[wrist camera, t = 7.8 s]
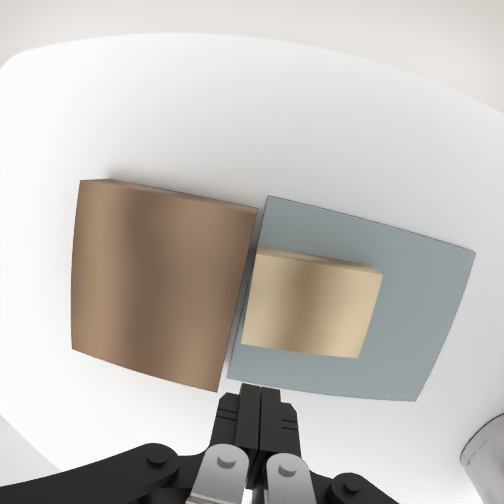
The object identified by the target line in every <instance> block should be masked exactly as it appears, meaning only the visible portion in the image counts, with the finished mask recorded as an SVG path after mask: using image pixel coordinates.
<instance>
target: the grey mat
mask: <svg viewBox="0 0 504 504" xmlns="http://www.w3.org/2000/svg"><path fill="white" fill-rule="evenodd" d="M257 245H258V246H264V247H270V248H276V249H282V250H288V251H293V252H299V253H305V254H311V255H317V256H323V257H328V258H334V259H340V260H346V261H352V262H357V263H363V264H369V265H372V266H373V267H374V268H375V269H377V270H378V271H379V272H380V273H381V274H383V277H382V281H381V285H380V289H379V292H378V296H377V299H376V303H375V306H374V310H373V313H372V317H371V320H370V323H369V326H368V330H367V333H366V336H365V339H364V342H363V345H362V348H361V351H360V354H359V357H358V358H347V357H337V356H327V355H318V354H310V353H301V352H294V351H286V350H279V349H272V348H265V347H258V346H252V345H246V344H241V339H242V331H243V325H244V319H245V313H246V308H247V302H248V296H249V290H250V284H251V279H252V273H253V267H254V261H255V256H254V261H253V265H252V270H251V274H250V278H249V283H248V287H247V292H246V296H245V300H244V305H243V309H242V314H241V318H240V322H239V327H238V331H237V335H236V340H235V344H234V349H233V353H232V357H231V362H230V366H229V370H228V375H227V378H229V379H234V380H239V381H244V382H249V383H254V384H259V385H265V386H271V387H277V388H283V389H289V390H295V391H302V392H309V393H317V394H325V395H333V396H343V397H353V398H364V399H377V400H392V401H415V402H416V400H417V398H418V396H419V394H420V392H421V390H422V388H423V386H424V384H425V382H426V381H427V379H428V377H429V374H430V372H431V370H432V368H433V366H434V364H435V362H436V360H437V358H438V355H439V353H440V351H441V349H442V347H443V344H444V342H445V340H446V337H447V335H448V332H449V330H450V328H451V325H452V323H453V320H454V317H455V315H456V312H457V310H458V307H459V304H460V301H461V299H462V296H463V293H464V290H465V287H466V284H467V281H468V278H469V275H470V272H471V268H472V265H473V262H474V258H475V255H476V253H475V252H473V251H470V250H467V249H464V248H461V247H457V246H454V245H451V244H448V243H445V242H441V241H438V240H435V239H432V238H428V237H425V236H422V235H418V234H415V233H412V232H408V231H405V230H401V229H398V228H394V227H391V226H387V225H384V224H380V223H376V222H373V221H369V220H365V219H362V218H358V217H354V216H350V215H347V214H343V213H339V212H335V211H331V210H327V209H323V208H319V207H315V206H311V205H307V204H303V203H298V202H294V201H290V200H286V199H281V198H277V197H273V196H268V199H267V203H266V208H265V212H264V216H263V221H262V225H261V230H260V234H259V239H258V243H257ZM256 249H257V247H256ZM255 255H256V252H255Z"/></svg>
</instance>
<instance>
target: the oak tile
mask: <svg viewBox="0 0 504 504" xmlns="http://www.w3.org/2000/svg"><path fill="white" fill-rule="evenodd" d="M382 277H383V274H381V273H380V272H379V271H378V270H377V269H375V268H374V267H373V266H372V265H369V264H363V263H357V262H352V261H346V260H340V259H334V258H328V257H323V256H317V255H311V254H305V253H299V252H293V251H288V250H282V249H276V248H270V247H264V246H258V245H257V249H256V255H255V261H254V267H253V273H252V279H251V284H250V290H249V296H248V302H247V308H246V313H245V319H244V325H243V331H242V339H241V344H246V345H252V346H258V347H265V348H272V349H279V350H286V351H294V352H301V353H310V354H318V355H327V356H337V357H347V358H358V357H359V354H360V351H361V348H362V345H363V342H364V339H365V336H366V333H367V330H368V326H369V323H370V320H371V317H372V313H373V310H374V306H375V303H376V299H377V296H378V292H379V289H380V285H381V281H382Z"/></svg>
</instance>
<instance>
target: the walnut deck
mask: <svg viewBox="0 0 504 504" xmlns="http://www.w3.org/2000/svg"><path fill="white" fill-rule="evenodd" d="M257 209H258V208H253V207H248V206H244V205H239V204H235V203H230V202H225V201H220V200H216V199H211V198H206V197H201V196H196V195H191V194H186V193H181V192H176V191H171V190H165V189H160V188H155V187H149V186H144V185H138V184H133V183H127V182H122V181H116V180H110V179H97V180H80V186H79V193H78V200H77V208H76V217H75V227H74V238H73V252H72V271H71V339H72V349H74V350H76V351H79V352H82V353H84V354H87V355H90V356H92V357H95V358H98V359H101V360H104V361H106V362H109V363H112V364H115V365H118V366H121V367H124V368H127V369H131V370H134V371H137V372H140V373H144V374H147V375H150V376H154V377H157V378H161V379H164V380H168V381H172V382H175V383H179V384H183V385H187V386H191V387H195V388H199V389H203V390H208V391H212V392H217V391H218V386H219V382H220V377H221V373H222V368H223V363H224V359H225V354H226V350H227V345H228V340H229V336H230V331H231V327H232V322H233V318H234V313H235V308H236V304H237V299H238V295H239V290H240V286H241V281H242V277H243V272H244V268H245V263H246V258H247V254H248V249H249V245H250V240H251V236H252V231H253V227H254V222H255V218H256V213H257Z"/></svg>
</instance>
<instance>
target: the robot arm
mask: <svg viewBox="0 0 504 504" xmlns="http://www.w3.org/2000/svg"><path fill="white" fill-rule="evenodd" d="M297 422H298V421H297V412H296V411H295V409H294V408H293V407H292V405H291V404H290V403H283V402H281V399H280V390H279V389H273V388H267V387H261V389H260V386H255V385H250V384H245V383H242V385H241V389H240V393H239V395H237V394H232V393H228V392H226V393H225V394H224V395H223V396H222V397H221V398H220V400H219V404H218V409H217V413H216V418H215V422H214V426H213V431H212V435H211V440H210V444H209V446H208V448H207V449H206V450H205V451H203V452H202V453H200V454H197V455H191V456H178V455H177V453H176V452H175V451H174V450H173V449H171V448H170V447H168V446H166V445H163V444H158V443H148V444H144V445H141V446H139V447H136V448H134V449H131V450H128V451H126V452H123V453H120V454H117V455H115V456H112V457H109V458H106V459H103V460H100V461H97V462H94V463H91V464H88V465H85V466H81V467H78V468H75V469H72V470H68V471H65V472H61V473H58V474H54V475H50V476H46V477H42V478H38V479H34V480H30V481H26V482H21V483H17V484H13V485H7V486H2V487H0V504H241V502H242V497H243V492H244V487H245V489H250V490H253V492H252V499H251V501H250V504H399V503H398V502H396V501H395V500H393V499H392V498H391V497H389V496H388V495H386V494H385V493H384V492H382V491H381V490H380V489H378V488H377V487H376V486H374V485H373V484H371V483H370V482H369V481H368V480H366V479H365V478H363V477H362V476H360V475H358V474H354V473H342V474H339V475H337V476H336V477H335V478H334V479H331V478H328V477H324V476H321V475H318V474H316V473H314V472H312V471H310V470H309V468H308V465H307V464H306V462H305V461H304V460H303V459H302V458H301V450H300V440H299V431H298V423H297ZM461 464H462V465H463V467H464V469H465V470H466V472H467V474H468V476H469V477H470V479H471V481H472V483H473V485H474V486H475V488H476V490H477V492H478V494H479V495H480V497H481V499H482V501H483V503H484V504H504V415H501V416H499V417H497V418H495V419H494V420H492V421H491V422H490V423H488V424H487V425H486V426H484V427H483V428H482V429H481V430H480V431H479V432H478V433H477V434H476V435H475V436H474V437H473V438H472V439H471V441H470V442H469V443H468V444H467V446H466V447H465V449H464V451H463V453H462V455H461ZM245 483H246V485H245Z"/></svg>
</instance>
